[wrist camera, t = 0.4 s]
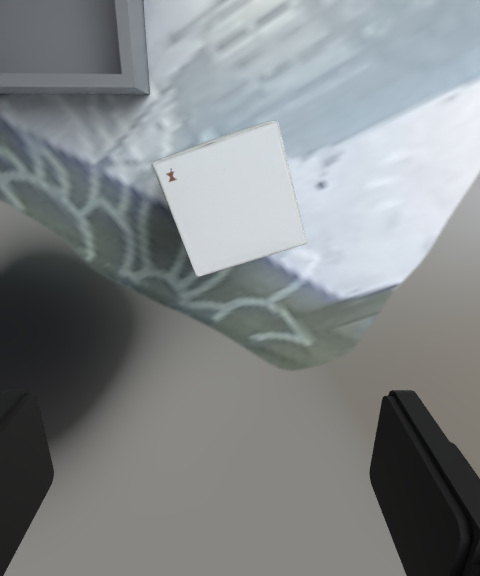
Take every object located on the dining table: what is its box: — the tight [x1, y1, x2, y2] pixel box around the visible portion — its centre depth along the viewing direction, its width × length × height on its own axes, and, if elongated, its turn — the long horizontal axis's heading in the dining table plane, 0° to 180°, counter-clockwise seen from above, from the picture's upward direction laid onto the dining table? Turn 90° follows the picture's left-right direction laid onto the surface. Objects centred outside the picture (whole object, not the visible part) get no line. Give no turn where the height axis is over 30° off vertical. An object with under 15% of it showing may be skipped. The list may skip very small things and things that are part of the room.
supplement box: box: [152, 121, 307, 277], centre depth 28 cm, size 7×7×13 cm
